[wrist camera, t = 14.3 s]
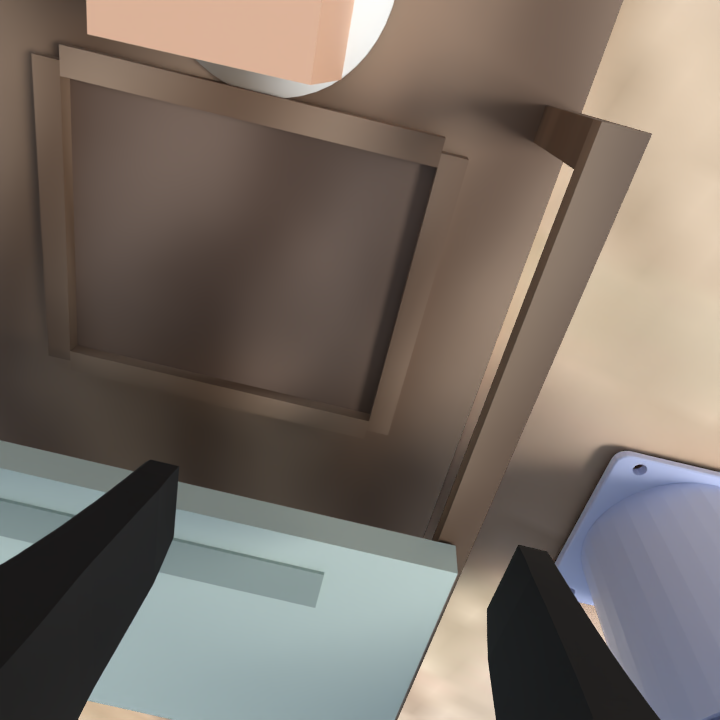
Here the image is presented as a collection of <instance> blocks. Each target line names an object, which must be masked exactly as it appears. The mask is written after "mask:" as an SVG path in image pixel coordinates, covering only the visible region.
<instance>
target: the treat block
mask: <svg viewBox="0 0 720 720" xmlns="http://www.w3.org/2000/svg"><path fill="white" fill-rule="evenodd" d="M353 6H354V0H86V8H87V34H89V35H93V36H98V37H102V38H106V39H111V40H115V41H120V42H124V43H128V44H133V45H137V46H141V47H146V48H150V49H155V50H159V51H163V52H168V53H172V54H176V55H181V56H185V57H190V58H194V59H198V60H203V61H207V62H212V63H216V64H220V65H225V66H229V67H233V68H238V69H242V70H247V71H251V72H255V73H260V74H264V75H268V76H273V77H277V78H282V79H286V80H290V81H295V82H299V83H303V84H308V85H314V84H320V83H326V82H332V81H338V80H341V79H342V73H343V67H344V61H345V55H346V49H347V43H348V37H349V31H350V25H351V19H352V13H353Z"/></svg>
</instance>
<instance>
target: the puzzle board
mask: <svg viewBox="0 0 720 720" xmlns="http://www.w3.org/2000/svg"><path fill="white" fill-rule="evenodd" d="M622 2H623V0H354V6H353V13H352V19H351V25H350V31H349V37H348V43H347V49H346V55H345V61H344V67H343V73H342V79H341V80H338V81H332V82H326V83H320V84H314V85H308V84H303V83H299V82H295V81H290V80H286V79H282V78H277V77H273V76H268V75H264V74H260V73H255V72H251V71H247V70H242V69H238V68H233V67H229V66H225V65H220V64H216V63H212V62H207V61H203V60H198V59H194V58H190V57H185V56H181V55H176V54H172V53H168V52H163V51H159V50H155V49H150V48H146V47H141V46H137V45H133V44H128V43H124V42H120V41H115V40H111V39H106V38H102V37H98V36H93V35H89V34H87V8H86V0H0V440H1V441H5V442H10V443H14V444H18V445H23V446H27V447H31V448H36V449H40V450H44V451H48V452H53V453H57V454H61V455H66V456H70V457H74V458H79V459H83V460H87V461H92V462H96V463H100V464H105V465H109V466H113V467H117V468H122V469H126V470H130V471H135V470H136V469H137V468H139V467H140V466H141V465H142V464H144V463H145V462H147V461H149V460H150V459H151V460H155V461H159V462H164V463H168V464H172V465H176V466H179V477H178V482H182V483H186V484H191V485H195V486H199V487H204V488H208V489H212V490H217V491H221V492H225V493H230V494H234V495H238V496H243V497H247V498H251V499H255V500H260V501H264V502H268V503H273V504H277V505H281V506H286V507H290V508H294V509H299V510H303V511H307V512H312V513H316V514H320V515H325V516H329V517H333V518H337V519H342V520H346V521H350V522H355V523H359V524H363V525H368V526H372V527H376V528H381V529H385V530H389V531H394V532H398V533H402V534H406V535H411V536H415V537H419V538H423V537H424V534H425V532H426V529H427V526H428V524H429V521H430V518H431V516H432V513H433V510H434V507H435V505H436V502H437V499H438V497H439V494H440V491H441V489H442V486H443V483H444V481H445V478H446V475H447V473H448V470H449V467H450V464H451V462H452V459H453V456H454V454H455V451H456V448H457V446H458V443H459V440H460V438H461V435H462V432H463V430H464V427H465V424H466V421H467V419H468V416H469V413H470V411H471V408H472V405H473V403H474V400H475V397H476V395H477V392H478V389H479V387H480V384H481V381H482V379H483V376H484V373H485V370H486V368H487V365H488V362H489V360H490V357H491V354H492V352H493V349H494V346H495V344H496V341H497V338H498V336H499V333H500V330H501V327H502V325H503V322H504V319H505V317H506V314H507V311H508V309H509V306H510V303H511V301H512V298H513V295H514V293H515V290H516V287H517V284H518V282H519V279H520V276H521V274H522V271H523V268H524V266H525V263H526V260H527V258H528V255H529V252H530V250H531V247H532V244H533V242H534V239H535V236H536V233H537V231H538V228H539V225H540V223H541V220H542V217H543V215H544V212H545V209H546V207H547V204H548V201H549V199H550V196H551V193H552V190H553V188H554V185H555V182H556V180H557V177H558V174H559V172H560V169H561V166H562V164H563V162H564V163H566V164H567V165H569V166H570V167H572V168H573V169H574V171H573V174H572V177H571V179H570V182H569V184H568V187H567V190H566V192H565V195H564V197H563V200H562V203H561V205H560V208H559V210H558V213H557V216H556V218H555V221H554V223H553V226H552V229H551V231H550V234H549V236H548V239H547V242H546V244H545V247H544V250H543V252H542V255H541V257H540V260H539V263H538V265H537V268H536V270H535V273H534V276H533V278H532V281H531V283H530V286H529V289H528V291H527V294H526V296H525V299H524V302H523V304H522V307H521V309H520V312H519V315H518V317H517V320H516V322H515V325H514V328H513V330H512V333H511V336H510V338H509V341H508V343H507V346H506V349H505V351H504V354H503V356H502V359H501V362H500V364H499V367H498V369H497V372H496V375H495V377H494V380H493V382H492V385H491V388H490V390H489V393H488V395H487V398H486V401H485V403H484V406H483V408H482V411H481V414H480V416H479V419H478V422H477V424H476V427H475V429H474V432H473V435H472V437H471V440H470V442H469V445H468V448H467V450H466V453H465V455H464V458H463V461H462V463H461V466H460V468H459V471H458V474H457V476H456V479H455V481H454V484H453V487H452V489H451V492H450V495H449V497H448V500H447V502H446V505H445V508H444V510H443V513H442V515H441V518H440V521H439V523H438V526H437V528H436V531H435V534H434V536H433V539H432V541H437V542H441V543H445V544H450V545H454V546H456V557H457V570H458V574H457V577H456V579H455V581H454V584H453V586H452V588H451V590H450V593H449V595H448V597H447V600H446V602H445V604H444V607H443V609H442V611H441V614H440V616H439V618H438V621H437V623H436V625H435V628H434V630H433V632H432V635H431V637H430V639H429V641H428V644H427V646H426V648H425V651H424V653H423V655H422V658H421V660H420V662H419V665H418V667H417V669H416V672H415V674H414V676H413V679H412V681H411V683H410V686H409V688H408V690H407V693H406V695H405V697H404V699H403V702H402V704H401V706H400V709H399V711H398V713H397V716H396V718H395V720H397V719H398V717H399V715H400V712H401V710H402V708H403V705H404V703H405V701H406V698H407V696H408V694H409V692H410V689H411V687H412V685H413V682H414V680H415V678H416V675H417V673H418V671H419V669H420V666H421V664H422V662H423V659H424V657H425V655H426V652H427V650H428V648H429V646H430V643H431V641H432V639H433V636H434V634H435V632H436V629H437V627H438V625H439V623H440V620H441V618H442V616H443V613H444V611H445V609H446V606H447V604H448V602H449V600H450V597H451V595H452V593H453V590H454V588H455V586H456V583H457V581H458V579H459V577H460V574H461V572H462V570H463V567H464V565H465V563H466V561H467V558H468V556H469V554H470V551H471V549H472V547H473V544H474V542H475V540H476V538H477V535H478V533H479V531H480V528H481V526H482V524H483V521H484V519H485V517H486V515H487V512H488V510H489V508H490V505H491V503H492V501H493V498H494V496H495V494H496V492H497V489H498V487H499V485H500V482H501V480H502V478H503V475H504V473H505V471H506V469H507V466H508V464H509V462H510V459H511V457H512V455H513V452H514V450H515V448H516V446H517V443H518V441H519V439H520V436H521V434H522V432H523V429H524V427H525V425H526V423H527V420H528V418H529V416H530V413H531V411H532V409H533V406H534V404H535V402H536V400H537V397H538V395H539V393H540V390H541V388H542V386H543V383H544V381H545V379H546V377H547V374H548V372H549V370H550V367H551V365H552V363H553V360H554V358H555V356H556V354H557V351H558V349H559V347H560V344H561V342H562V340H563V338H564V335H565V333H566V331H567V328H568V326H569V324H570V321H571V319H572V317H573V315H574V312H575V310H576V308H577V305H578V303H579V301H580V298H581V296H582V294H583V292H584V289H585V287H586V285H587V282H588V280H589V278H590V275H591V273H592V271H593V269H594V266H595V264H596V262H597V259H598V257H599V255H600V252H601V250H602V248H603V246H604V243H605V241H606V239H607V236H608V234H609V232H610V229H611V227H612V225H613V223H614V220H615V218H616V216H617V213H618V211H619V209H620V206H621V204H622V202H623V200H624V197H625V195H626V193H627V190H628V188H629V186H630V183H631V181H632V179H633V177H634V174H635V172H636V170H637V167H638V165H639V163H640V160H641V158H642V156H643V154H644V151H645V149H646V147H647V144H648V142H649V140H650V137H651V135H652V134H651V133H648V132H644V131H641V130H637V129H634V128H630V127H627V126H623V125H620V124H616V123H613V122H609V121H606V120H602V119H599V118H595V117H592V116H588V115H585V114H581V113H582V110H583V107H584V104H585V102H586V99H587V96H588V94H589V91H590V88H591V86H592V83H593V80H594V78H595V75H596V72H597V70H598V67H599V64H600V62H601V59H602V56H603V53H604V51H605V48H606V45H607V43H608V40H609V37H610V35H611V32H612V29H613V27H614V24H615V21H616V19H617V16H618V13H619V10H620V8H621V5H622Z"/></svg>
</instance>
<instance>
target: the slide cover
mask: <svg viewBox="0 0 720 720" xmlns="http://www.w3.org/2000/svg"><path fill="white" fill-rule="evenodd" d="M132 472H134V471H130V470H126V469H122V468H117V467H113V466H109V465H105V464H100V463H96V462H92V461H87V460H83V459H79V458H74V457H70V456H66V455H61V454H57V453H53V452H48V451H44V450H40V449H36V448H31V447H27V446H23V445H18V444H14V443H10V442H5V441H1V440H0V565H1V564H3V563H4V562H6V561H7V560H9V559H11V558H12V557H14V556H16V555H17V554H19V553H20V552H22V551H23V550H25V549H26V548H28V547H29V546H31V545H32V544H34V543H36V542H37V541H39V540H40V539H42V538H43V537H45V536H46V535H48V534H49V533H51V532H52V531H54V530H55V529H57V528H58V527H60V526H61V525H63V524H64V523H65V522H67V521H68V520H70V519H71V518H72V517H74V516H75V515H77V514H78V513H79V512H81V511H82V510H84V509H85V508H86V507H88V506H89V505H90V504H92V503H93V502H95V501H96V500H97V499H99V498H100V497H101V496H103V495H104V494H105V493H107V492H108V491H109V490H110V489H112V488H113V487H114V486H116V485H117V484H118V483H120V482H121V481H122V480H123V479H125V478H126V477H127V476H128V475H130V474H131V473H132ZM457 574H458V570H457V557H456V546H454V545H450V544H445V543H441V542H437V541H432V540H428V539H424V538H419V537H415V536H411V535H406V534H402V533H398V532H394V531H389V530H385V529H381V528H376V527H372V526H368V525H363V524H359V523H355V522H350V521H346V520H342V519H337V518H333V517H329V516H325V515H320V514H316V513H312V512H307V511H303V510H299V509H294V508H290V507H286V506H281V505H277V504H273V503H268V502H264V501H260V500H255V499H251V498H247V497H243V496H238V495H234V494H230V493H225V492H221V491H217V490H212V489H208V488H204V487H199V486H195V485H191V484H186V483H182V482H178V490H177V503H176V516H175V528H174V538H173V540H172V543H171V545H170V547H169V550H168V552H167V554H166V557H165V559H164V562H163V564H162V566H161V568H160V571H159V573H158V575H157V577H156V580H155V582H154V584H153V586H152V588H151V589H150V591H149V593H148V595H147V596H146V598H145V600H144V602H143V604H142V605H141V607H140V609H139V611H138V612H137V614H136V616H135V618H134V619H133V621H132V623H131V625H130V626H129V628H128V630H127V632H126V633H125V635H124V637H123V638H122V640H121V642H120V644H119V645H118V647H117V649H116V651H115V652H114V654H113V656H112V658H111V659H110V661H109V663H108V665H107V666H106V668H105V670H104V672H103V673H102V675H101V677H100V678H99V680H98V682H97V684H96V685H95V687H94V689H93V691H92V693H91V695H90V697H89V699H88V701H92V702H97V703H101V704H105V705H110V706H114V707H119V708H123V709H128V710H132V711H137V712H141V713H145V714H150V715H154V716H159V717H163V718H168V719H172V720H395V718H396V716H397V713H398V711H399V709H400V706H401V704H402V702H403V699H404V697H405V695H406V693H407V690H408V688H409V686H410V683H411V681H412V679H413V676H414V674H415V672H416V669H417V667H418V665H419V662H420V660H421V658H422V655H423V653H424V651H425V648H426V646H427V644H428V641H429V639H430V637H431V635H432V632H433V630H434V628H435V625H436V623H437V621H438V618H439V616H440V614H441V611H442V609H443V607H444V604H445V602H446V600H447V597H448V595H449V593H450V590H451V588H452V586H453V584H454V581H455V579H456V577H457Z"/></svg>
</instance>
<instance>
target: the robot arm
mask: <svg viewBox="0 0 720 720" xmlns="http://www.w3.org/2000/svg"><path fill="white" fill-rule="evenodd" d="M639 464H643V465H642V466H641V467H640V468H638V469H633V468H634V467H635V466H636V465H639ZM178 477H179V466H176V465H172V464H168V463H164V462H159V461H155V460H151V459H150V460H149V461H147V462H145V463H144V464H142V465H141V466H140V467H139V468H137V469H136V470H135V471H134V472H132V473H131V474H130V475H128V476H127V477H126V478H125V479H123V480H122V481H121V482H120V483H118V484H117V485H116V486H114V487H113V488H112V489H110V490H109V491H108V492H107V493H105V494H104V495H103V496H101V497H100V498H99V499H97V500H96V501H95V502H93V503H92V504H90V505H89V506H88V507H86V508H85V509H84V510H82V511H81V512H79V513H78V514H77V515H75V516H74V517H72V518H71V519H70V520H68V521H67V522H65V523H64V524H63V525H61V526H60V527H58V528H57V529H55V530H54V531H52V532H51V533H49V534H48V535H46V536H45V537H43V538H42V539H40V540H39V541H37V542H36V543H34V544H32V545H31V546H29V547H28V548H26V549H25V550H23V551H22V552H20V553H19V554H17V555H16V556H14V557H12V558H11V559H9V560H7V561H6V562H4V563H3V564H1V565H0V720H78V718H79V716H80V714H81V712H82V710H83V708H84V706H85V704H86V702H87V700H88V699H89V697H90V695H91V693H92V691H93V689H94V687H95V685H96V684H97V682H98V680H99V678H100V677H101V675H102V673H103V672H104V670H105V668H106V666H107V665H108V663H109V661H110V659H111V658H112V656H113V654H114V652H115V651H116V649H117V647H118V645H119V644H120V642H121V640H122V638H123V637H124V635H125V633H126V632H127V630H128V628H129V626H130V625H131V623H132V621H133V619H134V618H135V616H136V614H137V612H138V611H139V609H140V607H141V605H142V604H143V602H144V600H145V598H146V596H147V595H148V593H149V591H150V589H151V588H152V586H153V584H154V582H155V580H156V577H157V575H158V573H159V571H160V568H161V566H162V564H163V562H164V559H165V557H166V554H167V552H168V550H169V547H170V545H171V543H172V540H173V538H174V528H175V516H176V503H177V490H178ZM579 602H581V603H585V604H589V605H594V606H595V609H596V612H597V615H598V618H599V621H600V624H601V627H602V630H603V633H604V636H605V639H606V643H607V645H606V643H605V642H604V640H603V639H602V637H601V636H600V634H599V633H598V631H597V630H596V628H595V627H594V625H593V624H592V622H591V621H590V619H589V617H588V616H587V614H586V613H585V611H584V610H583V608H582V606H581V605H580V603H579ZM487 644H488V663H489V671H490V679H491V686H492V694H493V701H494V708H495V715H496V720H720V472H716V471H712V470H708V469H704V468H699V467H695V466H691V465H687V464H682V463H678V462H674V461H670V460H665V459H661V458H657V457H653V456H648V455H644V454H640V453H636V452H631V451H621V452H618V453H617V454H615V455H614V456H613V457H612V459H611V460H610V462H609V464H608V466H607V468H606V470H605V471H604V473H603V475H602V477H601V479H600V481H599V482H598V484H597V486H596V488H595V490H594V492H593V494H592V495H591V497H590V499H589V501H588V503H587V505H586V506H585V508H584V510H583V512H582V514H581V516H580V517H579V519H578V521H577V523H576V525H575V527H574V528H573V530H572V532H571V534H570V536H569V538H568V540H567V541H566V543H565V545H564V547H563V549H562V551H561V552H560V554H559V556H558V558H557V560H556V562H555V563H554V562H553V560H552V559H551V557H550V556H549V554H548V552H547V551H542V550H538V549H534V548H529V547H525V546H521V545H518V547H517V549H516V551H515V553H514V555H513V557H512V559H511V561H510V563H509V565H508V567H507V569H506V571H505V573H504V576H503V578H502V580H501V582H500V584H499V586H498V588H497V590H496V592H495V594H494V596H493V598H492V600H491V602H490V604H489V606H488V608H487Z"/></svg>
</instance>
